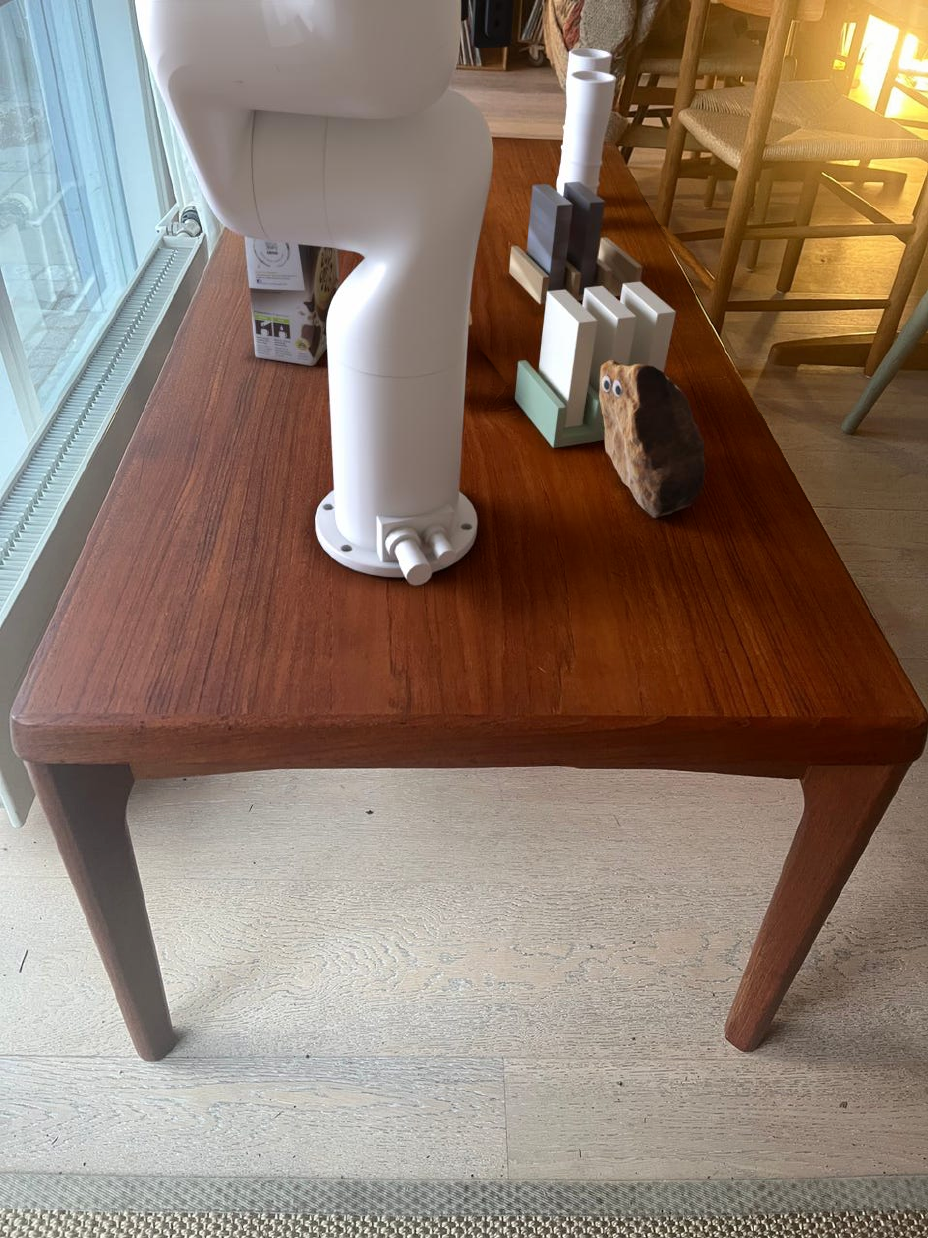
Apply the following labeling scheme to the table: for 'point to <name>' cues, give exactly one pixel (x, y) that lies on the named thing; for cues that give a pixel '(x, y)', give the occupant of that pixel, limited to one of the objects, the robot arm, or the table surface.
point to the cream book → (567, 352)
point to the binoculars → (586, 117)
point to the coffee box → (290, 298)
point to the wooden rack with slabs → (569, 246)
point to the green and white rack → (601, 359)
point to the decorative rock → (651, 437)
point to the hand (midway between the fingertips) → (469, 32)
